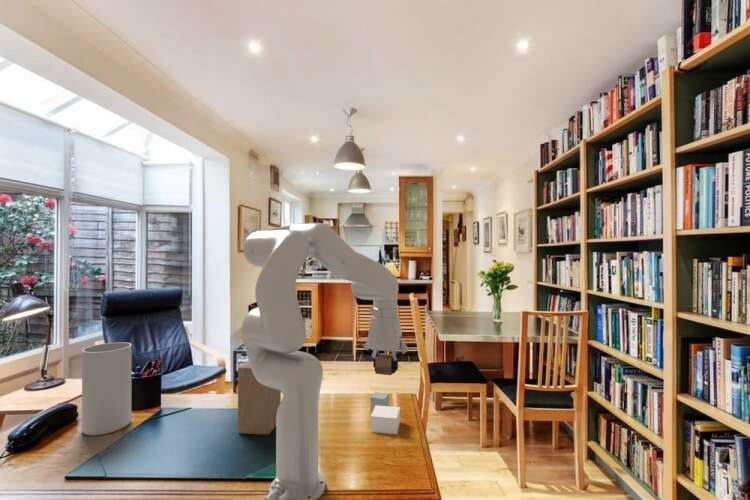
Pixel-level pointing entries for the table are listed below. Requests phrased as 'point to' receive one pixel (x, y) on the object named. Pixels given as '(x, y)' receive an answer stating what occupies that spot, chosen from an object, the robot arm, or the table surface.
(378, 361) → the walnut cube
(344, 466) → the table surface
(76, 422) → the table surface
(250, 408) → the wooden block
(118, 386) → the cylinder vase
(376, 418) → the off-white block
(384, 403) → the slate-grey cube
